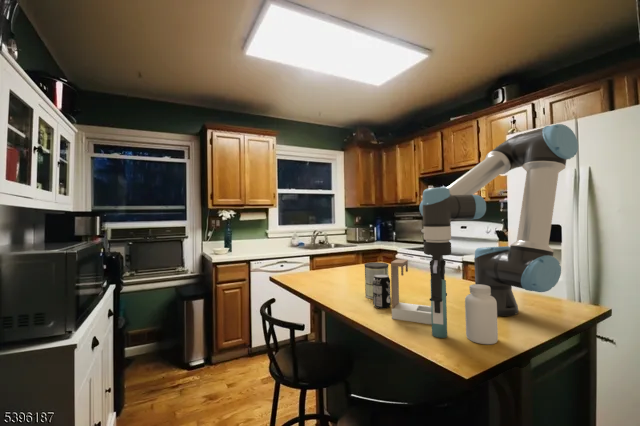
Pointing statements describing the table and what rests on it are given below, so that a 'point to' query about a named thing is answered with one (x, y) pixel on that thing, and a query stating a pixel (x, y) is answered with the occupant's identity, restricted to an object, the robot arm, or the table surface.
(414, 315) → the station
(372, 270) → the coffee can
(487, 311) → the pill bottle
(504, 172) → the robot arm
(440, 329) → the peg
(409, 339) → the table surface
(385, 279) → the beverage can
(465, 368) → the table surface
